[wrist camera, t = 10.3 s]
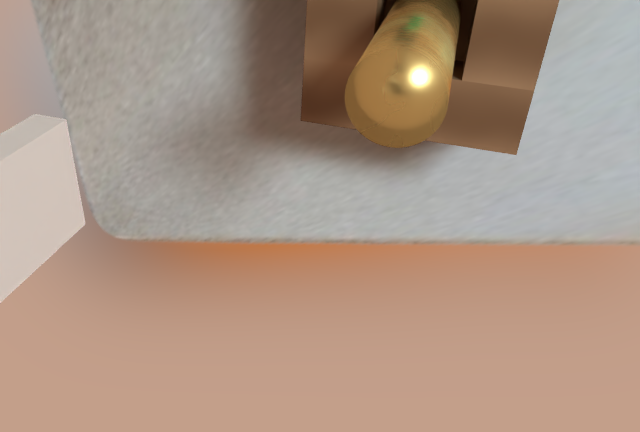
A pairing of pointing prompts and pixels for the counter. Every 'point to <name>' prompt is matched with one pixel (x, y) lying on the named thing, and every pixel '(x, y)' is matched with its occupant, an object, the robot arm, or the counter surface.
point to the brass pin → (405, 73)
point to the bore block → (468, 73)
